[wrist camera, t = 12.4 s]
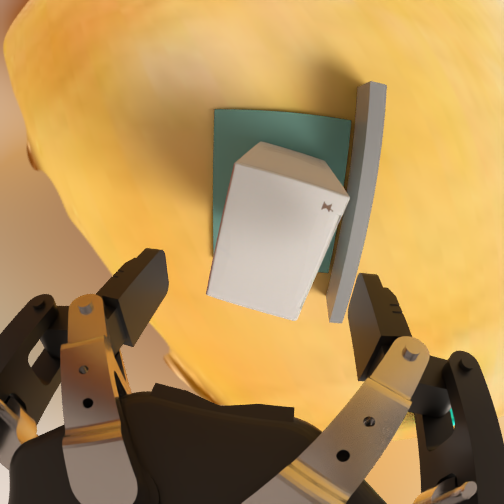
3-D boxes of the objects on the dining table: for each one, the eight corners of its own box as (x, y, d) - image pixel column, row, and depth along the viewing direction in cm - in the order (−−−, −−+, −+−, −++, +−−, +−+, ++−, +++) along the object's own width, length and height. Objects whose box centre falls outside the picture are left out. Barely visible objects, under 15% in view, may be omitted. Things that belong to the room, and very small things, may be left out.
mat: (215, 109, 21) (214, 109, 20) (350, 120, 19) (351, 120, 19) (214, 258, 27) (213, 260, 27) (327, 270, 26) (328, 273, 26)
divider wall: (357, 87, 18) (370, 81, 14) (371, 89, 18) (386, 84, 14) (326, 296, 27) (329, 322, 24) (337, 297, 27) (341, 323, 24)
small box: (260, 139, 21) (233, 156, 12) (326, 160, 21) (353, 194, 12) (236, 227, 25) (202, 297, 16) (296, 245, 25) (296, 324, 16)
